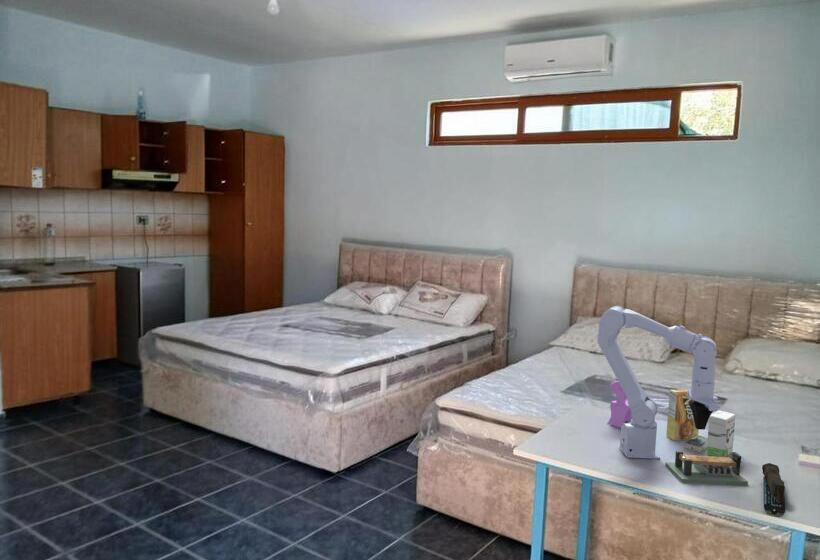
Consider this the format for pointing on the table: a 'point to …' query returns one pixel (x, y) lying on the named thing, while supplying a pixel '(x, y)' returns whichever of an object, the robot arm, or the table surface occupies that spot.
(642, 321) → the robot arm
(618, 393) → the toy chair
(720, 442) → the ink box
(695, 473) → the circuit board
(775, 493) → the hand tool
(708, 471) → the heat sink
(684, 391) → the candy box
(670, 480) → the table surface
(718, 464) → the strap lever
